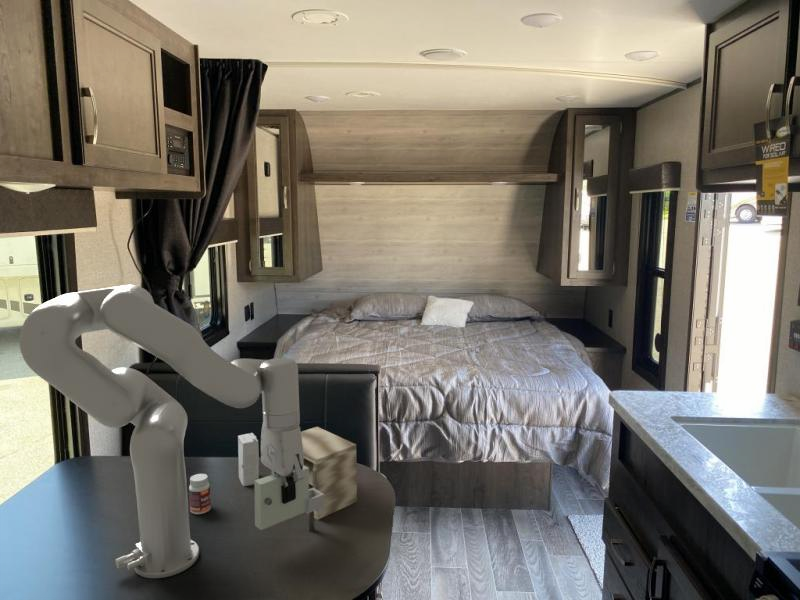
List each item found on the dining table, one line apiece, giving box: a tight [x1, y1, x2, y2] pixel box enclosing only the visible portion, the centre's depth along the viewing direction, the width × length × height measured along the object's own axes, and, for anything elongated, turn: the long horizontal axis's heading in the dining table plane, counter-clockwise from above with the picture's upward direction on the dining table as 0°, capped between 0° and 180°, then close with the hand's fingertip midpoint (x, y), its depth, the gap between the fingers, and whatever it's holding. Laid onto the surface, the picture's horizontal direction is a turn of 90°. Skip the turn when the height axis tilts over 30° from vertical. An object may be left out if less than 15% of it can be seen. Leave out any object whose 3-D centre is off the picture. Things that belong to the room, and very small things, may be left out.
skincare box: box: [237, 432, 260, 487], centre depth 152 cm, size 6×4×12 cm
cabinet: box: [301, 426, 358, 533], centre depth 140 cm, size 16×19×15 cm
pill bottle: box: [188, 473, 212, 515], centre depth 138 cm, size 5×5×8 cm
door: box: [253, 465, 324, 531], centre depth 124 cm, size 16×4×10 cm, turn 134°
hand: (284, 497), depth 123 cm, fingers closed on door, 2 cm apart
